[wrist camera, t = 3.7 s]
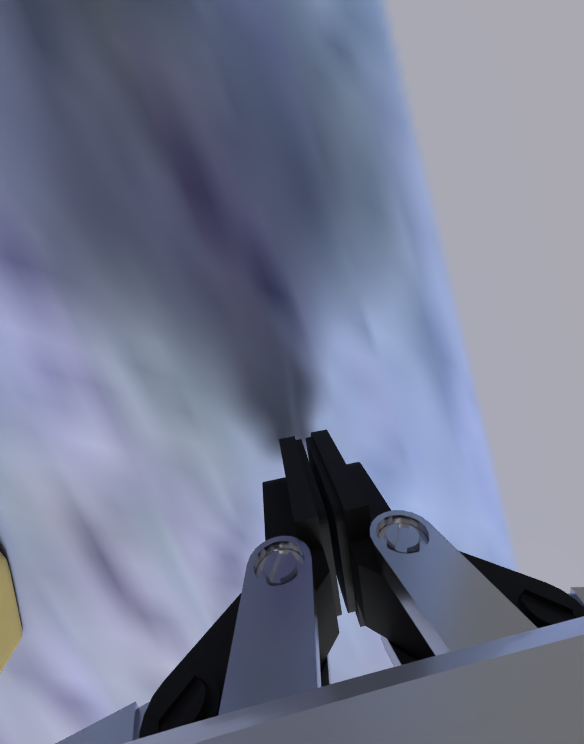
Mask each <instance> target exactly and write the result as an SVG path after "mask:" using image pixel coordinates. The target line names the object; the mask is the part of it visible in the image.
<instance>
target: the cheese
mask: <svg viewBox="0 0 584 744" xmlns="http://www.w3.org/2000/svg"><path fill="white" fill-rule="evenodd" d="M21 637H22V625H21V621H20V616H19V611H18V607H17V602H16V597H15V592H14V588H13V583H12V578H11V574H10V569H9V566H8V563H7V560H6V558H5V557H4V556H3V554H2V553H1V552H0V673H1V671H2V670H3V668H4V666H5V665H6V663H7V661H8V660H9V658H10V656H11V655H12V653H13V651H14V650H15V648H16V646H17V645H18V643H19V641H20V639H21Z"/></svg>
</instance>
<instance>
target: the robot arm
mask: <svg viewBox="0 0 584 744" xmlns="http://www.w3.org/2000/svg"><path fill="white" fill-rule="evenodd" d="M279 443H280V448H281V454H282V459H283V465H284V470H285V476H286V477H285V478H280V479H276V480H271V481H266V482H263V503H264V521H265V540H266V541H265V542H263V543H262V544H260V545H259V546H258V547H257V548H256V549H255V550H254V551H253V553H252V554H251V555H250V558H249V560H248V563H247V567H246V572H245V577H244V583H243V588H242V593H241V594H240V595H239V596H238V597H237V598H236V599H235V601H234V602H233V603H232V604H231V605H230V606H229V607H228V609H227V610H226V611H225V612H224V613H223V614H222V615H221V617H220V618H219V619H218V620H217V621H216V622H215V623H214V625H213V626H212V627H211V628H210V629H209V630H208V631H207V632H206V634H205V635H204V636H203V637H202V638H201V639H200V640H199V642H198V643H197V644H196V645H195V646H194V647H193V648H192V650H191V651H190V652H189V653H188V654H187V655H186V656H185V658H184V659H183V660H182V661H181V662H180V663H179V664H178V666H177V667H176V668H175V669H174V670H173V671H172V672H171V674H170V675H169V676H168V677H167V678H166V679H165V680H164V682H163V683H162V684H161V686H160V687H159V688H158V690H157V691H156V693H155V694H154V695H153V697H152V699H151V701H150V702H148V703H147V704H145V705H143V706H141V707H139V708H138V705H137V703H136V702H134V703H132V704H130V705H128V706H126V707H124V708H122V709H121V710H119V711H117V712H115V713H113V714H111V715H109V716H107V717H105V718H103V719H102V720H100V721H98V722H96V723H94V724H92V725H90V726H88V727H86V728H84V729H83V730H81V731H79V732H77V733H75V734H73V735H71V736H69V737H67V738H65V739H63V740H62V741H60V742H58V743H56V744H584V587H571V591H570V594H567V593H565V592H564V591H562V590H561V589H559V588H556V587H554V586H552V585H550V584H548V583H546V582H543V581H540V580H537V579H534V578H532V577H529V576H526V575H523V574H521V573H518V572H515V571H512V570H510V569H507V568H504V567H501V566H499V565H496V564H493V563H490V562H488V561H485V560H482V559H479V558H477V557H474V556H471V555H468V554H466V553H463V552H460V551H458V550H457V549H456V548H455V547H454V546H453V545H452V544H451V543H450V542H449V541H448V540H447V539H446V538H445V537H444V536H443V535H442V534H441V533H440V532H438V531H437V530H436V529H435V528H434V527H433V526H432V525H431V524H430V523H429V522H428V521H427V520H425V519H424V518H423V517H421V516H419V515H417V514H414V513H412V512H408V511H403V510H393V511H391V509H390V508H389V506H388V505H387V503H386V502H385V500H384V498H383V497H382V495H381V494H380V492H379V491H378V489H377V488H376V486H375V485H374V483H373V482H372V480H371V478H370V477H369V475H368V474H367V472H366V471H365V469H364V468H363V466H362V465H361V463H360V462H356V463H351V464H347V465H346V463H345V461H344V460H343V458H342V456H341V454H340V452H339V451H338V449H337V447H336V445H335V443H334V442H333V440H332V438H331V436H330V434H329V433H328V431H327V430H322V431H317V432H312V433H311V437H309V438H306V444H307V450H308V457H309V460H308V457H307V454H306V451H305V449H304V446H303V443H302V440H301V439H299V440H295V437H294V436H292V437H287V438H282V439H279ZM336 575H337V577H336ZM337 579H338V582H339V585H340V589H341V592H342V595H343V599H344V602H345V605H346V608H347V611H348V613H350V612H354V611H355V612H356V615H357V618H358V621H359V624H360V627H362V626H367V627H368V628H370V629H372V630H373V631H375V632H377V633H378V634H380V635H381V640H382V643H383V645H384V648H385V650H386V652H387V654H388V656H389V658H390V660H391V662H392V664H393V666H394V667H393V668H389V669H385V670H382V671H378V672H374V673H371V674H367V675H363V676H360V677H356V678H352V679H349V680H345V681H341V682H338V683H334V684H331V674H330V663H329V657H328V653H329V651H330V649H331V647H332V646H333V644H334V642H335V640H336V638H337V636H338V634H339V628H338V621H337V616H339V615H342V611H341V604H340V598H339V591H338V584H337Z"/></svg>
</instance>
